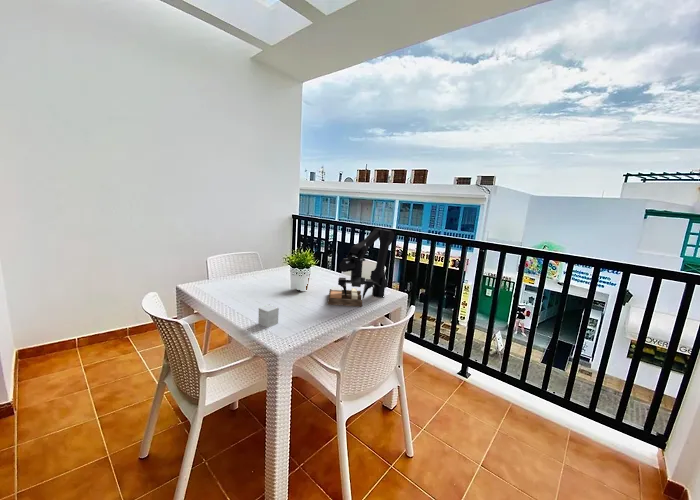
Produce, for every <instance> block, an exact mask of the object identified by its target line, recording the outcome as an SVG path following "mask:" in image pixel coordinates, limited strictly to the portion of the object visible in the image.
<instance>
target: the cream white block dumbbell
mask: <svg viewBox="0 0 700 500" xmlns="http://www.w3.org/2000/svg"><path fill="white" fill-rule="evenodd" d="M330 289H331V291H335V292H342V290H343V287H339V286H338V287H337V286H332V287H330ZM350 290H351V295H352V292H354V293H357V291H358V287H351V289H350Z"/></svg>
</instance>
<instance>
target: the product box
mask: <svg viewBox="0 0 700 500" xmlns="http://www.w3.org/2000/svg"><path fill="white" fill-rule="evenodd" d="M279 309H280V308H279V307H277V306H275V305H272V304H271V303H270V304H266V305H263V306H260V307H258V318H257V319H258V325H261V326H263V327H265V328H267V329H268V328H271V327H273V326H275V325H277V324H279V314H280V313H279Z"/></svg>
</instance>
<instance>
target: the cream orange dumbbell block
mask: <svg viewBox="0 0 700 500" xmlns="http://www.w3.org/2000/svg"><path fill="white" fill-rule="evenodd" d="M330 298H339V299H342V292H335V291H331V294H330ZM351 299H355V300H357V299H358V294H357V293H354V292H352V298H351Z"/></svg>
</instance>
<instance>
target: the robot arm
mask: <svg viewBox="0 0 700 500" xmlns="http://www.w3.org/2000/svg"><path fill="white" fill-rule="evenodd" d="M395 236H396V235H395V233H394V231H393V230H390V229H389V230H388V229H382V228H377V227H376V228H374V229H373V231H372V232H370V233H369V234H368V235H367V236H366V237H365V238H364V239H362V240H361V241H360V242H358V243H355V244H354V245H352V246H351V247H350V250H349V252H348V254H347V255H346V258H342V261H340V263H339V269H340V271H341V272H343V273H346V272H347V273H348V272H351V273H350V279H347V278H346V277H341V276H339V277H338V279H337V280H338V282H337V284H338V286H340V288H342V290H344V292H345V296H346V297H347V291H346V290H347V284H350V285H351V288H361V287H362V285H363V286H364V287H363V291H362V292H363V293H362V299H365V296H366V294H367V292H368V290H369V289H371V288H372V290H371V291H372V292H371V294H372V296H374V297H373V298H384V297H385V291H386V290H385V289H386V288H387V287H388V285H389V283H388V281H387V280H386V276H387V275H386V272H385V266H386V262H387V257H388V252H389V249H390V248H389V247H390V246H391V244H392V243H393V242H394V238H395ZM377 240H378V241H379V244H380V246H379V249H378V250H379V251H378V256H377V260H376V263H375V264H376V265H375V268H374V269H373V270H371V271H370V275H369V276H370V279H369V278H366V277H362V275H363V273H362V272H363V262H366V258H364V257H365V256H366V255H367V253H368V252H369V250H368V249H370V247H371V246H372V245H373V244H374V243H375V242H376V241H377ZM383 296H384V297H383Z"/></svg>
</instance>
